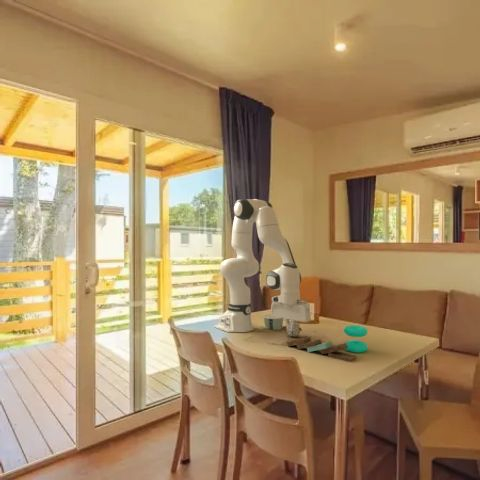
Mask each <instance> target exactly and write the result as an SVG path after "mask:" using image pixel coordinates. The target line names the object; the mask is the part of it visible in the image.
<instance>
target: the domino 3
mask: <svg viewBox="0 0 480 480" xmlns="http://www.w3.org/2000/svg"><path fill="white" fill-rule="evenodd" d="M332 346H334V344H333V342H332V340H331V341H328V342H327V341H326V342H322V344H319V345H316V346H312V347H307V348H306V350H307V352H308V353H310V352H314V351H321V349H326V348H329V347H332Z"/></svg>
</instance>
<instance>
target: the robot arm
mask: <svg viewBox="0 0 480 480" xmlns="http://www.w3.org/2000/svg"><path fill="white" fill-rule="evenodd" d="M233 213H234V219H233V223H232V229H231V230H232V231H231V241H230V243H231V244H230V245H231V247H232V249H233V250H234V251H235V253H236V257H231V258H227V259H225V260H223V261H222V262H221V263H220V265H219V272H220V275H221V276H222V277H223V278H225V280H226V282H227V284H228V288H229V301H230V302H229V303H227V304H226V307H227V310H225V311H224V312H223V313H222V314H221V315H220V316H219V320H218V323H217V324H215V325H214V328H216V329H218V330H221V331H224V332H226V333H246V332H251V331H254V324H253V317H252V303H251V288H250V287H249V286H248V285H247V284H246V282H245V278H248V277H249V278H250V277H252V276H254V275H257V274H258V272H259V270H260V264H259V261H258V260H257V259H256V257H255V256H254V251H253V229H254V223H255V225H256V232H257V237H258V239H259V241H260V243H261V244H263V245H265V246H266V247H269V248H271V249H273V250H275V251H276V252H277V253H278V254H279V256H280V257H281V261H282V264H281V265H280V266H279V267H277V268H275V269H272V270H270V271H268V272H267V274H266V276H265V283H266V286H267V287H268V289H270V290H272V291H273V290H274V291H279V290H280V294H277V295H275V296H272V297H271V305H270V314H272V316H273V317H278V318H284V319H283V320H284V323H285V324H286V326H287V329H292V330H293V329H294V325H295V323H296V322H298V321H299V322H302V323H308V322H310V321H311V318H312V317H311V310H310V308H311V307H310V303H309V302H308V301H307V300H301V291H300V285H301V283H302V276H301V275H302V274H301V273H300V271H299V270H300V269H299V266H298V265H297V264H296V262H295V259H294V255H293V253H292V250H291V247H290V244H289V242H288V240H287V239H286V237H284V235H283V233H282V232H281V229H280V224H279V220H278V218H277V217H278V216H277V215H276V212H275V209H274V208H273V205H272V204H271V203H270V202H269V201H266V200H263V199H262V200H261V199H257V198H253V199H249V198H247V199H246V198H241V199H238V200H236V201H235V203H234V206H233ZM289 322H292V324H291V325H290V323H289Z"/></svg>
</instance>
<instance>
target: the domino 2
mask: <svg viewBox="0 0 480 480" xmlns="http://www.w3.org/2000/svg"><path fill="white" fill-rule="evenodd" d="M322 343H323V342H322V339H321V338H317V339H314V340H311V341H309V342H306V343H303V344H298V345H296V348H297V350H303V349H307V347H312V346H316V345H319V344H322Z"/></svg>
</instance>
